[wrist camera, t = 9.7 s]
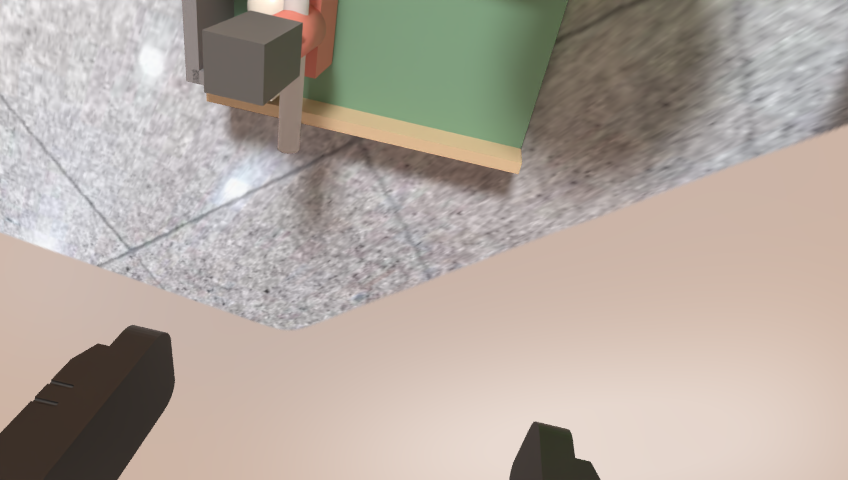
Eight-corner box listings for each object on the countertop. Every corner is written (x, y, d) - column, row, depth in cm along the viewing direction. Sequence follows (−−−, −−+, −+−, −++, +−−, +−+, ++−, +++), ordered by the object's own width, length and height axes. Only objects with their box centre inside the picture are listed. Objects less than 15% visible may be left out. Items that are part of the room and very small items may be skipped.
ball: (263, -29, 40) (313, -16, 40) (262, 26, 42) (309, 38, 42) (236, -24, 37) (290, -11, 36) (236, 35, 39) (287, 48, 39)
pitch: (581, -50, 37) (596, -41, 32) (517, 154, 46) (519, 190, 40) (225, -133, 37) (174, -140, 32) (228, 86, 46) (188, 113, 40)
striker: (357, -110, 36) (268, -121, 22) (333, 123, 45) (260, 215, 32) (311, -121, 36) (195, -138, 22) (296, 114, 45) (208, 203, 32)
